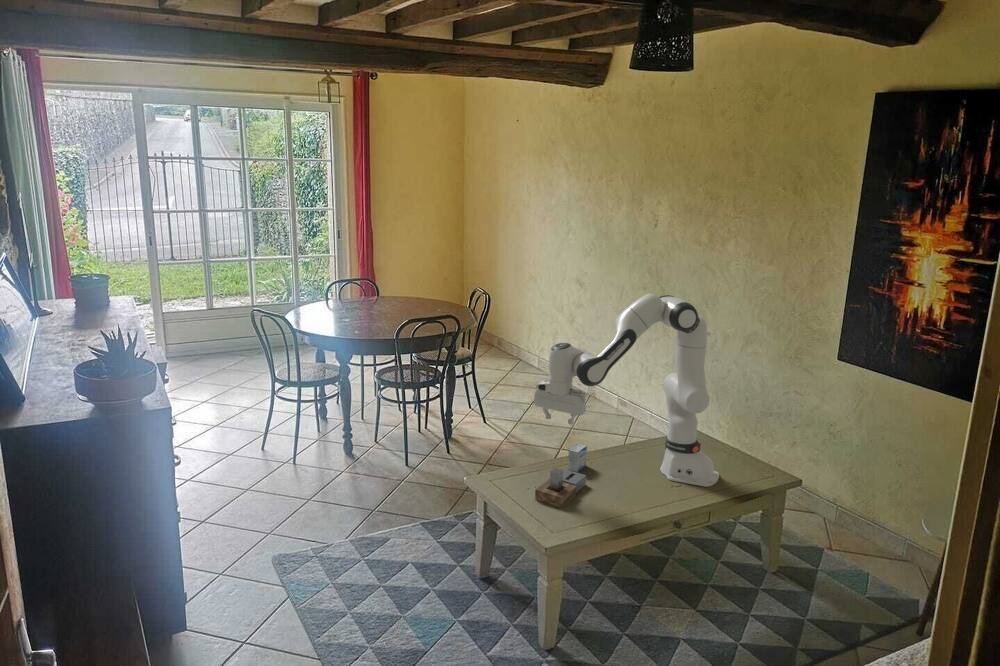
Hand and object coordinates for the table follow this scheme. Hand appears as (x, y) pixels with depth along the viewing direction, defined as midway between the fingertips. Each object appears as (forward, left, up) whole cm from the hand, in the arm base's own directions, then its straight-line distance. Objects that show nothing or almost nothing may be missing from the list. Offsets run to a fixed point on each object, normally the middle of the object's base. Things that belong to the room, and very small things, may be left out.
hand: (559, 421), depth 267 cm
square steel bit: (-6, +11, -24) cm, 27 cm away
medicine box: (0, -16, -25) cm, 30 cm away
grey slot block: (-5, 0, -25) cm, 26 cm away
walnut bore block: (-5, +11, -25) cm, 28 cm away
